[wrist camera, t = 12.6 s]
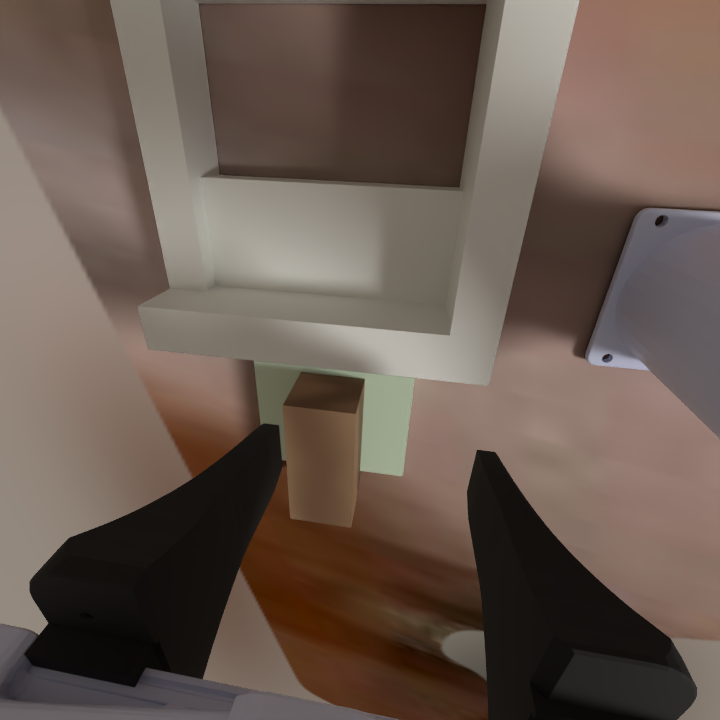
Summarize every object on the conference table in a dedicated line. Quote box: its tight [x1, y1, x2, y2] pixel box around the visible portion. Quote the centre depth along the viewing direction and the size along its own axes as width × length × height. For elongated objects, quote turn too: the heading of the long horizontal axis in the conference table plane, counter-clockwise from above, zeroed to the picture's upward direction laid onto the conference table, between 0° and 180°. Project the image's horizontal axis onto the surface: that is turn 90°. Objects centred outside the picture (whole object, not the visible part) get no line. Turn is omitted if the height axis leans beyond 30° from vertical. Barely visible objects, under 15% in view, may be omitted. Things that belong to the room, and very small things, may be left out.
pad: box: [254, 361, 415, 476], centre depth 26 cm, size 10×8×1 cm
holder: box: [110, 0, 579, 386], centre depth 16 cm, size 16×16×6 cm
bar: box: [283, 372, 365, 528], centre depth 24 cm, size 4×9×4 cm, turn 178°
